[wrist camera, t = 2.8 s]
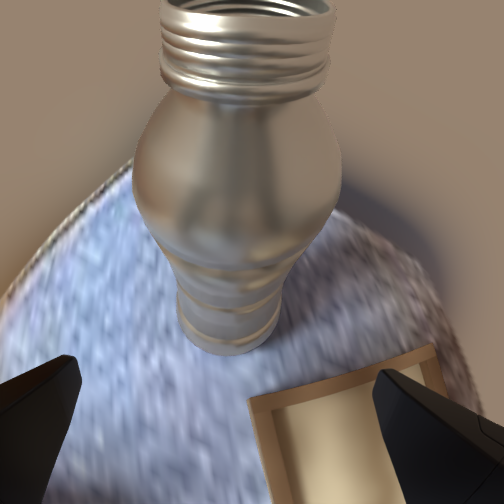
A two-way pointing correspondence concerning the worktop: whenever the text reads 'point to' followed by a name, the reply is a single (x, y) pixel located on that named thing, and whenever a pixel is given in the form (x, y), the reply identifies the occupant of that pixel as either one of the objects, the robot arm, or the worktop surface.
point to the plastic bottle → (238, 159)
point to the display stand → (334, 436)
